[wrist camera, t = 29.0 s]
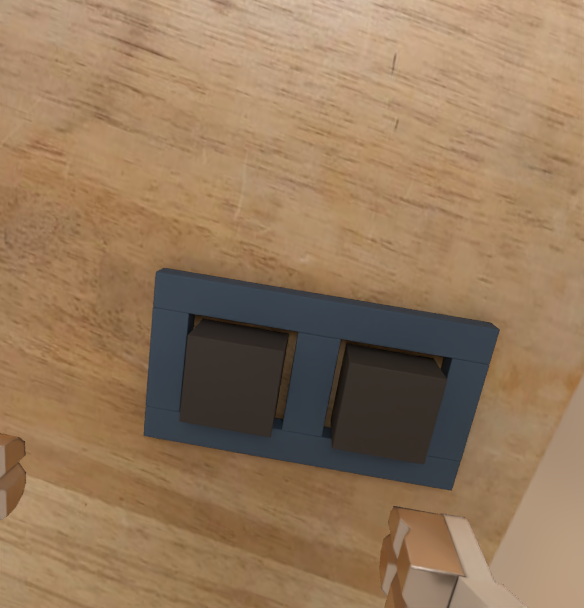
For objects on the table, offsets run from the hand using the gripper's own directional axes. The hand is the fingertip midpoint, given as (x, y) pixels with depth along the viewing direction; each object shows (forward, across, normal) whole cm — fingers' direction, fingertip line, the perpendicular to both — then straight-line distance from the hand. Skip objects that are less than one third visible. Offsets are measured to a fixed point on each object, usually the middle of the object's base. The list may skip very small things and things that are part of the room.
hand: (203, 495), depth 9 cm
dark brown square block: (+20, +2, +6) cm, 21 cm away
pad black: (+20, -8, +6) cm, 23 cm away
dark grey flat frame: (+20, -3, +6) cm, 21 cm away
